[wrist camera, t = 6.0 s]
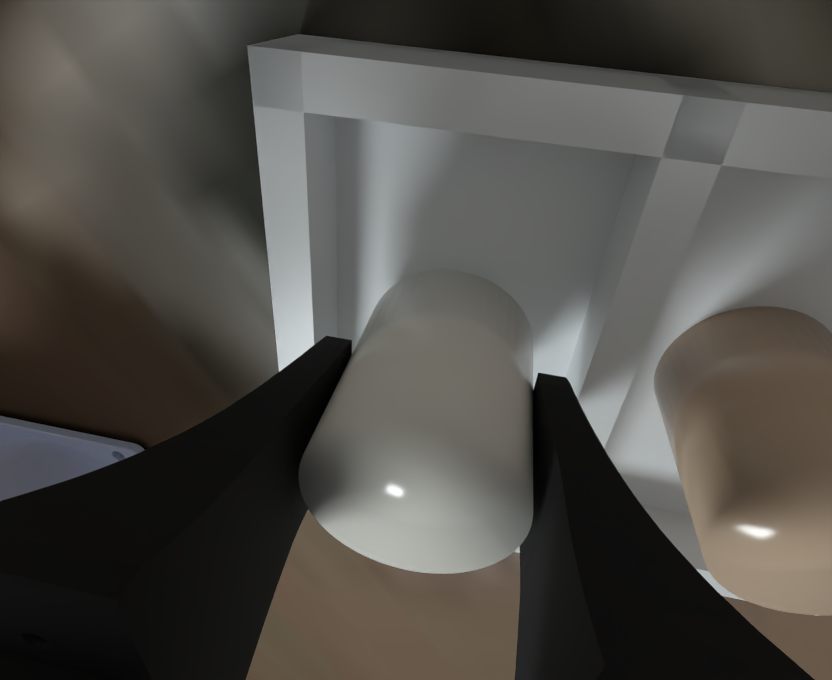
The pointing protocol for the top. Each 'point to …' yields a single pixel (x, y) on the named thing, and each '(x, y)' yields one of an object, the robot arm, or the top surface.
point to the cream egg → (430, 430)
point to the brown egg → (756, 451)
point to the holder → (544, 212)
